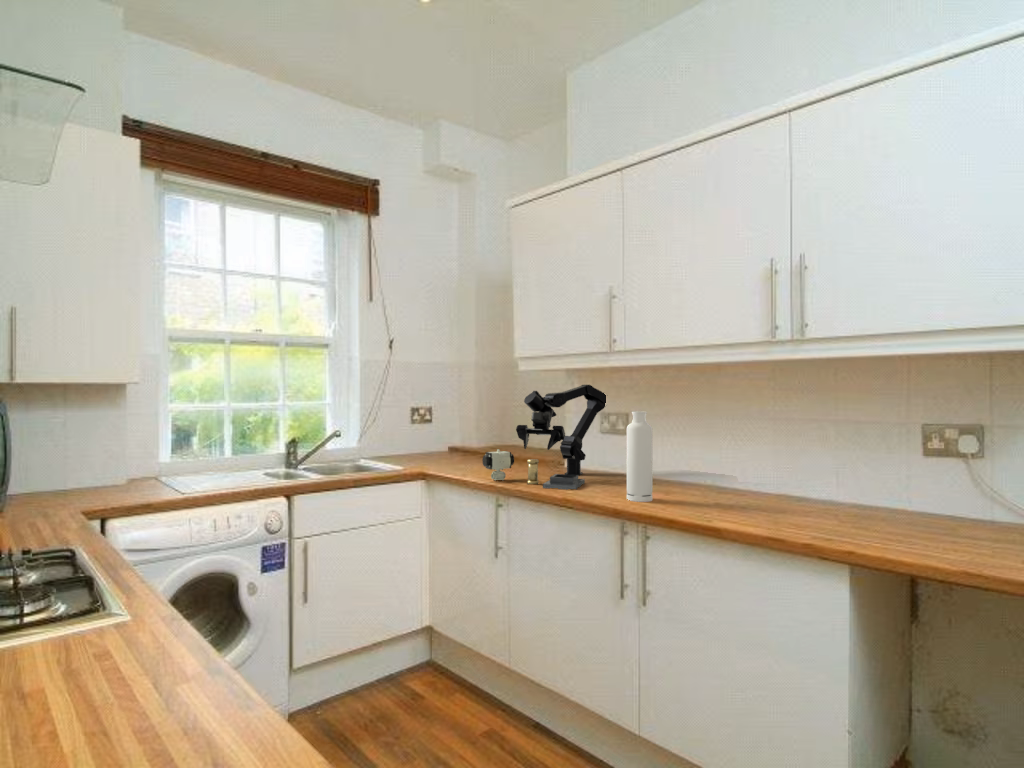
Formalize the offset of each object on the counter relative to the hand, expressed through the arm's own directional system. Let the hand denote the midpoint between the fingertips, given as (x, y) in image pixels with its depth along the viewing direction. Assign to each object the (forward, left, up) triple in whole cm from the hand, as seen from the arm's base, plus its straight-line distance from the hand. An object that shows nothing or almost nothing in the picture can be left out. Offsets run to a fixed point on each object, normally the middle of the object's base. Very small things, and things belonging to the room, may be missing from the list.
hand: (536, 448), depth 218 cm
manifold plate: (+5, +12, -13) cm, 18 cm away
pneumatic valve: (+1, -15, -13) cm, 20 cm away
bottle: (+24, +41, -13) cm, 49 cm away
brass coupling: (+5, 0, -13) cm, 14 cm away
